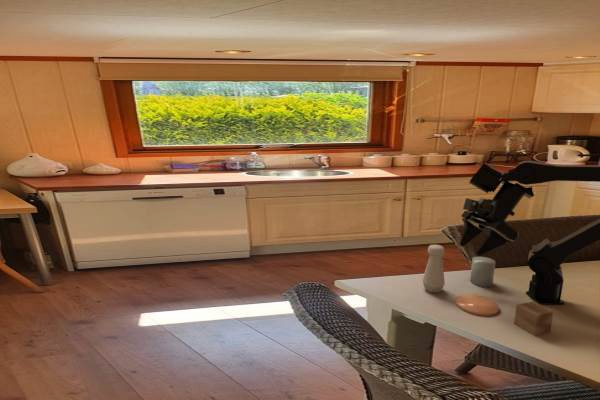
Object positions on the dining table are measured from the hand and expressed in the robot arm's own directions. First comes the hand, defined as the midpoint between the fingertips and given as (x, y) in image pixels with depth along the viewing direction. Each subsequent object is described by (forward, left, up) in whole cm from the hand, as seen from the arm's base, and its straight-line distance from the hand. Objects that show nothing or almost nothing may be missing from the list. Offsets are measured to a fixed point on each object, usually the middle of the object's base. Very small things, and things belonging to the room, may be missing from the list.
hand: (469, 249), depth 98 cm
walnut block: (-7, +18, -12) cm, 23 cm away
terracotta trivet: (+1, +8, -12) cm, 15 cm away
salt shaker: (+9, -1, -12) cm, 15 cm away
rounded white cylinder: (-7, -6, -12) cm, 16 cm away
